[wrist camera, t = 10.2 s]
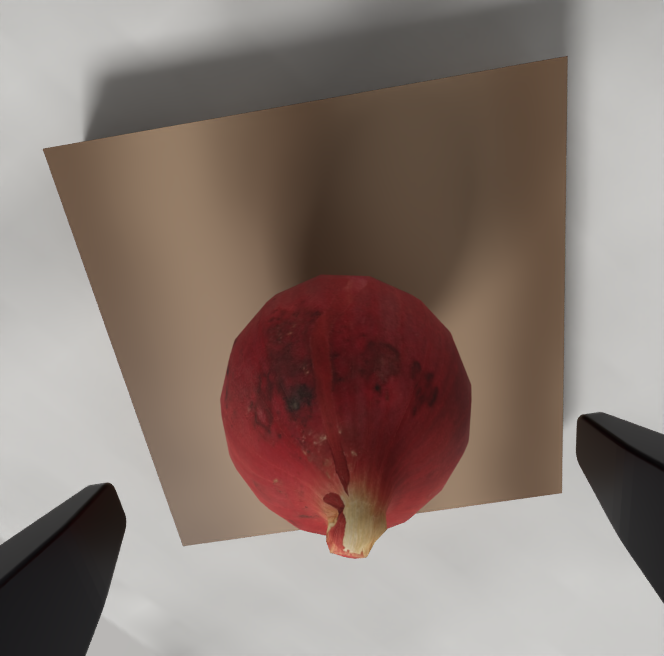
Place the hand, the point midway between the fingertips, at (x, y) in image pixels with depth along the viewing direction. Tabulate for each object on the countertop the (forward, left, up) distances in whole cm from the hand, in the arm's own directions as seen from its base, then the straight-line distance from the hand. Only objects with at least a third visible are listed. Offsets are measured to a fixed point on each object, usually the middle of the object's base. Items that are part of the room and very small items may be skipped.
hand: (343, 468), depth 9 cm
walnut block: (0, 0, -9) cm, 9 cm away
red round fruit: (0, 0, -6) cm, 6 cm away
